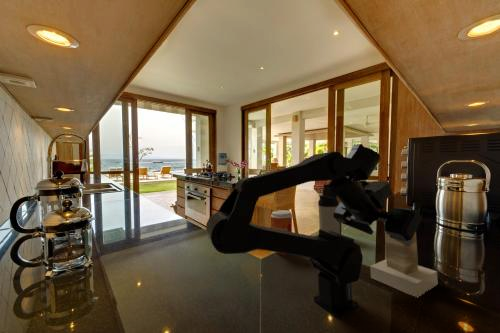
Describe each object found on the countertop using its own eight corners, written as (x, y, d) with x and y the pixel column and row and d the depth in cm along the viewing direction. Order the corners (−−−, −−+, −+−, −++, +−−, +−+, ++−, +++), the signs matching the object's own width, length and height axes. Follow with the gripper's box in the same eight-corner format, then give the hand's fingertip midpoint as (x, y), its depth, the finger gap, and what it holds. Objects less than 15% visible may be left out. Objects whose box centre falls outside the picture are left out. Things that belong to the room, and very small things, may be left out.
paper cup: (268, 252, 71) (266, 212, 72) (280, 246, 77) (278, 209, 77) (287, 258, 66) (285, 215, 66) (299, 251, 72) (297, 211, 72)
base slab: (417, 298, 44) (416, 283, 44) (370, 277, 52) (370, 266, 53) (437, 284, 48) (436, 271, 49) (392, 267, 57) (391, 256, 57)
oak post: (404, 274, 48) (401, 218, 48) (386, 266, 52) (383, 215, 52) (418, 271, 49) (414, 216, 49) (399, 263, 53) (396, 213, 54)
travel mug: (336, 241, 80) (333, 195, 81) (316, 237, 85) (314, 194, 86) (343, 236, 86) (340, 193, 86) (324, 232, 91) (322, 192, 92)
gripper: (413, 168, 39) (450, 220, 43) (339, 170, 57) (370, 207, 60) (386, 213, 36) (429, 265, 40) (317, 201, 54) (351, 237, 57)
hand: (389, 238), depth 49 cm, fingers open, 9 cm apart
